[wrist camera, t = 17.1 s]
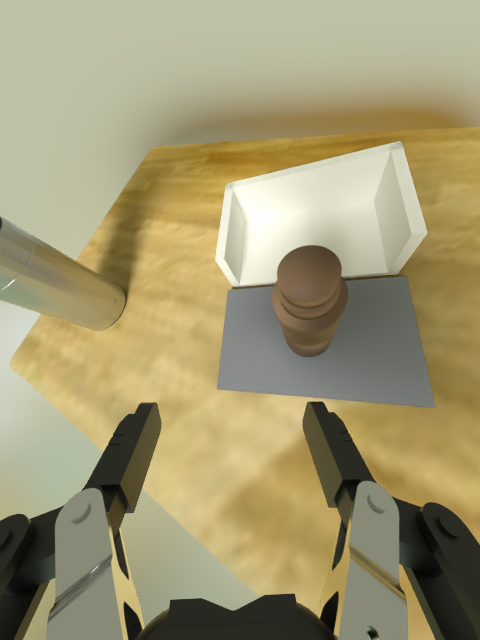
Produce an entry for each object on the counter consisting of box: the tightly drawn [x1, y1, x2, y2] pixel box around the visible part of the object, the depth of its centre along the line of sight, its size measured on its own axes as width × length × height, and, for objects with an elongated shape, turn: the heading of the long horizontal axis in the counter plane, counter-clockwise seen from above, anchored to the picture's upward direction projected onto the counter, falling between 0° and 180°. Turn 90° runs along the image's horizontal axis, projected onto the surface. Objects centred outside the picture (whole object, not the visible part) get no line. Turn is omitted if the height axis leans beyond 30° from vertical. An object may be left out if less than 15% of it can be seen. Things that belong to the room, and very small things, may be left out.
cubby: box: [215, 141, 428, 287], centre depth 27 cm, size 21×13×7 cm, turn 86°
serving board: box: [217, 276, 436, 408], centre depth 25 cm, size 22×14×1 cm, turn 86°
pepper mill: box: [272, 245, 348, 357], centre depth 18 cm, size 5×5×14 cm
